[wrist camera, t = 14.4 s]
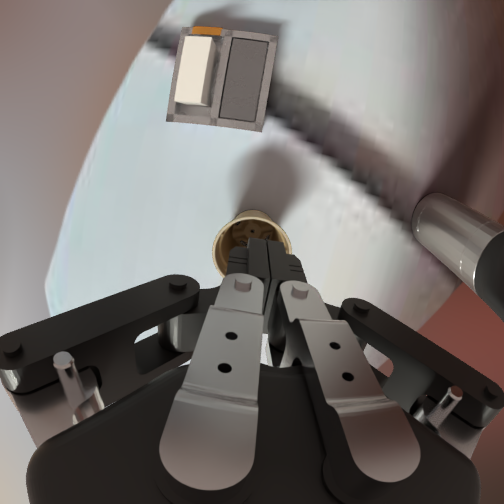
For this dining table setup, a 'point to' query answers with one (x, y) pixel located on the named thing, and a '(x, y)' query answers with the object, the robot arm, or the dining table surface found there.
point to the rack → (230, 80)
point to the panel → (196, 71)
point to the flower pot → (245, 236)
